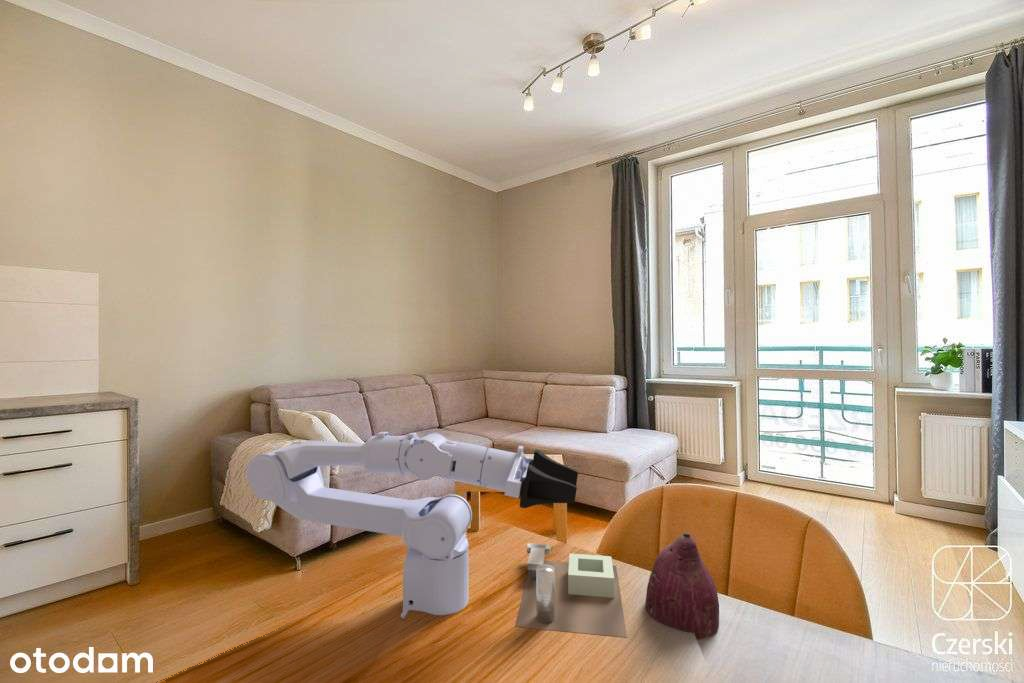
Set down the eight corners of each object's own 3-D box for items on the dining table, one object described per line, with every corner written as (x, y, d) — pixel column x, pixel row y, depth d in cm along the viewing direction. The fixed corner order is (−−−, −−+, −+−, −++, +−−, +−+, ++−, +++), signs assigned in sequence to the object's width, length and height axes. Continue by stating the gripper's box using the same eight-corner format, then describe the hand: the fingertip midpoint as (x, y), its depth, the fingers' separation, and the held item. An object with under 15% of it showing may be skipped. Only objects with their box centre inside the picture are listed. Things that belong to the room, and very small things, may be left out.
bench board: (511, 633, 61) (511, 604, 61) (528, 564, 79) (528, 542, 79) (627, 645, 58) (626, 614, 58) (616, 571, 77) (615, 548, 77)
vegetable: (724, 665, 59) (748, 573, 55) (644, 644, 61) (662, 554, 57) (709, 602, 69) (728, 520, 65) (640, 586, 71) (655, 506, 67)
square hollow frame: (568, 594, 68) (568, 574, 68) (569, 570, 75) (569, 553, 75) (614, 597, 67) (614, 578, 67) (611, 574, 74) (611, 556, 74)
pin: (535, 622, 61) (535, 572, 61) (537, 611, 64) (537, 563, 64) (554, 624, 61) (554, 574, 61) (555, 613, 63) (555, 564, 63)
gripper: (478, 451, 59) (579, 472, 56) (499, 431, 73) (581, 448, 70) (469, 503, 59) (571, 526, 56) (493, 473, 73) (574, 491, 70)
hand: (576, 486), depth 63 cm, fingers open, 7 cm apart
